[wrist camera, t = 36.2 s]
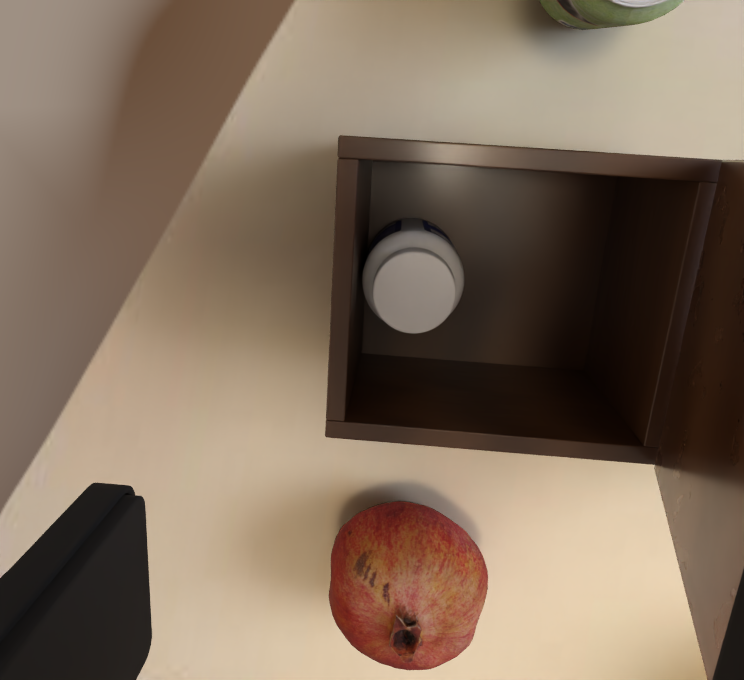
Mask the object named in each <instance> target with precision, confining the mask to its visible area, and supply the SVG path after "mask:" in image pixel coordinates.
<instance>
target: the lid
mask: <svg viewBox="0 0 744 680" xmlns="http://www.w3.org/2000/svg"><path fill="white" fill-rule="evenodd" d="M654 469H655V473H656V477H657V481H658V485H659V489H660V492H661V496H662V500H663V504H664V508H665V512H666V516H667V520H668V524H669V528H670V532H671V536H672V540H673V544H674V548H675V552H676V556H677V560H678V564H679V568H680V572H681V576H682V580H683V584H684V588H685V592H686V596H687V600H688V604H689V608H690V612H691V616H692V619H693V623H694V627H695V631H696V635H697V639H698V643H699V647H700V651H701V655H702V659H703V663H704V667H705V671H706V675H707V679H708V680H712V679H713V675H714V672H715V668H716V665H717V661H718V658H719V654H720V650H721V647H722V643H723V640H724V636H725V633H726V629H727V626H728V622H729V619H730V615H731V612H732V608H733V604H734V601H735V597H736V594H737V590H738V587H739V583H740V580H741V576H742V573H743V569H744V160H723V161H722V162H721V167H720V171H719V176H718V180H717V185H716V189H715V194H714V198H713V203H712V208H711V212H710V217H709V221H708V226H707V230H706V235H705V239H704V244H703V248H702V253H701V258H700V262H699V267H698V271H697V276H696V280H695V285H694V289H693V294H692V298H691V303H690V308H689V312H688V317H687V321H686V326H685V330H684V335H683V339H682V344H681V349H680V353H679V358H678V362H677V367H676V371H675V376H674V380H673V385H672V389H671V394H670V399H669V403H668V408H667V412H666V417H665V421H664V426H663V430H662V435H661V439H660V444H659V449H658V453H657V458H656V462H655V467H654Z"/></svg>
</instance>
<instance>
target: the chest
mask: <svg viewBox="0 0 744 680" xmlns="http://www.w3.org/2000/svg"><path fill="white" fill-rule="evenodd" d="M338 157H339V158H338V161H337V184H336V206H335V229H334V251H333V274H332V297H331V319H330V342H329V364H328V387H327V410H326V431H325V436H326V437H330V438H342V439H354V440H366V441H378V442H390V443H402V444H414V445H426V446H438V447H450V448H462V449H474V450H485V451H497V452H509V453H521V454H533V455H545V456H557V457H569V458H581V459H593V460H605V461H617V462H629V463H641V464H653V465H655V462H656V458H657V453H658V449H659V444H660V439H661V435H662V430H663V426H664V421H665V417H666V412H667V408H668V403H669V399H670V394H671V389H672V385H673V380H674V376H675V371H676V367H677V362H678V358H679V353H680V349H681V344H682V339H683V335H684V330H685V326H686V321H687V317H688V312H689V308H690V303H691V298H692V294H693V289H694V285H695V280H696V276H697V271H698V267H699V262H700V258H701V253H702V248H703V244H704V239H705V235H706V230H707V226H708V221H709V217H710V212H711V208H712V203H713V198H714V194H715V189H716V185H717V180H718V176H719V171H720V167H721V162H722V161H723V160H713V159H697V158H682V157H666V156H651V155H635V154H620V153H605V152H589V151H574V150H558V149H543V148H528V147H512V146H497V145H481V144H466V143H450V142H435V141H420V140H404V139H389V138H373V137H358V136H342V135H340V136H339V138H338ZM404 218H419V219H423V220H427V221H429V222H432V223H434V224H435V225H437V226H438V227H440V228H441V229H442V230H443V231H444V232H445V233H446V234H447V236H448V237H449V239H450V240H451V242H452V244H453V246H454V247H455V250H456V252H457V253H458V255H459V257H460V260H461V263H462V266H463V271H464V288H463V292H462V296H461V298H460V301H459V303H458V304H457V306H456V308H455V309H454V310H453V312H452V313H451V314H450V315H449V316H448V317H447V318H446V319H445V321H444V322H443V323H441V324H440V325H439V326H437V327H436V328H434V329H432V330H430V331H427V332H423V333H405V332H401V331H398V330H396V329H394V328H392V327H391V326H389V325H388V324H387V323H385V322H384V321H383V320H381V319H380V318H379V317H378V316H377V315H376V314H375V313H374V312H373V311H372V309H371V308H370V306H369V304H368V303H367V300H366V298H365V295H364V291H363V286H362V274H363V268H364V265H365V261H366V258H367V255H368V252H369V249H370V247H371V244H372V242H373V240H374V239H375V237H376V236H377V234H378V233H379V232H380V231H381V230H382V229H383V228H384V227H386V226H387V225H389V224H390V223H392V222H394V221H397V220H400V219H404Z"/></svg>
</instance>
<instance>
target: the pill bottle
mask: <svg viewBox="0 0 744 680" xmlns="http://www.w3.org/2000/svg"><path fill="white" fill-rule="evenodd" d="M362 286H363V291H364V295H365V298H366V300H367V303H368V304H369V306H370V308H371V309H372V311H373V312H374V313H375V314H376V315H377V316H378V317H379V318H380V319H381V320H383V321H384V322H385V323H387V324H388V325H389V326H391V327H392V328H394V329H396V330H398V331H401V332H405V333H423V332H427V331H430V330H432V329H434V328H436V327H437V326H439V325H440V324H441V323H443V322H444V321H445V319H446V318H447V317H448V316H449V315H450V314H451V313H452V312H453V310H454V309H455V308H456V306H457V304H458V303H459V301H460V298H461V296H462V292H463V288H464V271H463V266H462V263H461V260H460V257H459V255H458V253H457V252H456V250H455V247H454V246H453V244H452V242H451V240H450V239H449V237H448V236H447V234H446V233H445V232H444V231H443V230H442V229H441V228H440V227H438V226H437V225H435V224H434V223H432V222H429V221H427V220H423V219H419V218H404V219H400V220H397V221H394V222H392V223H390V224H389V225H387V226H386V227H384V228H383V229H382V230H381V231H380V232H379V233H378V234H377V236H376V237H375V239H374V240H373V242H372V244H371V247H370V249H369V252H368V255H367V258H366V261H365V265H364V268H363V274H362Z"/></svg>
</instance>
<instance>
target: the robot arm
mask: <svg viewBox="0 0 744 680" xmlns="http://www.w3.org/2000/svg"><path fill="white" fill-rule="evenodd" d="M151 639H152V628H151V609H150V589H149V570H148V551H147V531H146V512H145V501H144V499H143V497H142V496H135V492H134V490H133V488H132V487H131V486H128V485H117V484H105V483H93V484H91V485H90V486H89V487H88V488H87V489H86V490H85V491H84V492H83V493H82V494H81V495H80V496H79V497H78V498H77V499H76V500H75V501H74V502H73V503H72V504H71V506H70V507H69V508H68V509H67V510H66V511H65V512H64V513H63V514H62V515H61V516H60V517H59V518H58V519H57V520H56V521H55V522H54V523H53V524H52V525H51V526H50V528H49V529H48V530H47V531H46V532H45V533H44V534H43V535H42V536H41V537H40V538H39V539H38V540H37V541H36V542H35V543H34V544H33V545H32V546H31V547H30V549H29V550H28V551H27V552H26V553H25V554H24V555H23V556H22V557H21V558H20V559H19V560H18V561H17V562H16V563H15V564H14V565H13V566H12V567H11V568H10V569H9V570H8V571H7V572H6V573H5V574H4V575H3V576H2V577H1V578H0V680H136V679H137V677H138V675H139V673H140V671H141V669H142V667H143V665H144V663H145V661H146V659H147V656H148V653H149V650H150V646H151ZM712 680H744V569H743V573H742V576H741V580H740V583H739V587H738V590H737V594H736V597H735V601H734V604H733V608H732V612H731V615H730V619H729V622H728V626H727V629H726V633H725V636H724V640H723V643H722V647H721V650H720V654H719V658H718V661H717V665H716V668H715V672H714V675H713V679H712Z"/></svg>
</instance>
